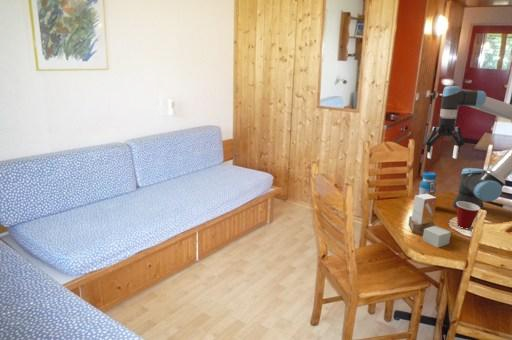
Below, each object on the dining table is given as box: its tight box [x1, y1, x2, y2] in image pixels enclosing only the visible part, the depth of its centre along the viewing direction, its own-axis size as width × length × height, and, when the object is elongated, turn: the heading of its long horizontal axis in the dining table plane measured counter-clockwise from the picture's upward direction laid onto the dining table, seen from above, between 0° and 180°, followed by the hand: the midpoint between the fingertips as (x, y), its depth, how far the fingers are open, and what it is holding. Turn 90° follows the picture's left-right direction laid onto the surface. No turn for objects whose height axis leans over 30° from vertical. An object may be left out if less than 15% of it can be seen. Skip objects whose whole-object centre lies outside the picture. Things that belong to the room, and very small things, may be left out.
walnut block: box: [408, 215, 436, 235], centre depth 190 cm, size 10×10×5 cm
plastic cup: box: [456, 201, 480, 229], centre depth 192 cm, size 11×11×12 cm
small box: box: [411, 194, 438, 225], centre depth 187 cm, size 8×6×13 cm
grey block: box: [422, 225, 452, 248], centre depth 176 cm, size 8×8×6 cm
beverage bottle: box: [418, 171, 437, 197], centre depth 217 cm, size 8×8×20 cm
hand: (441, 158), depth 200 cm, fingers open, 13 cm apart
